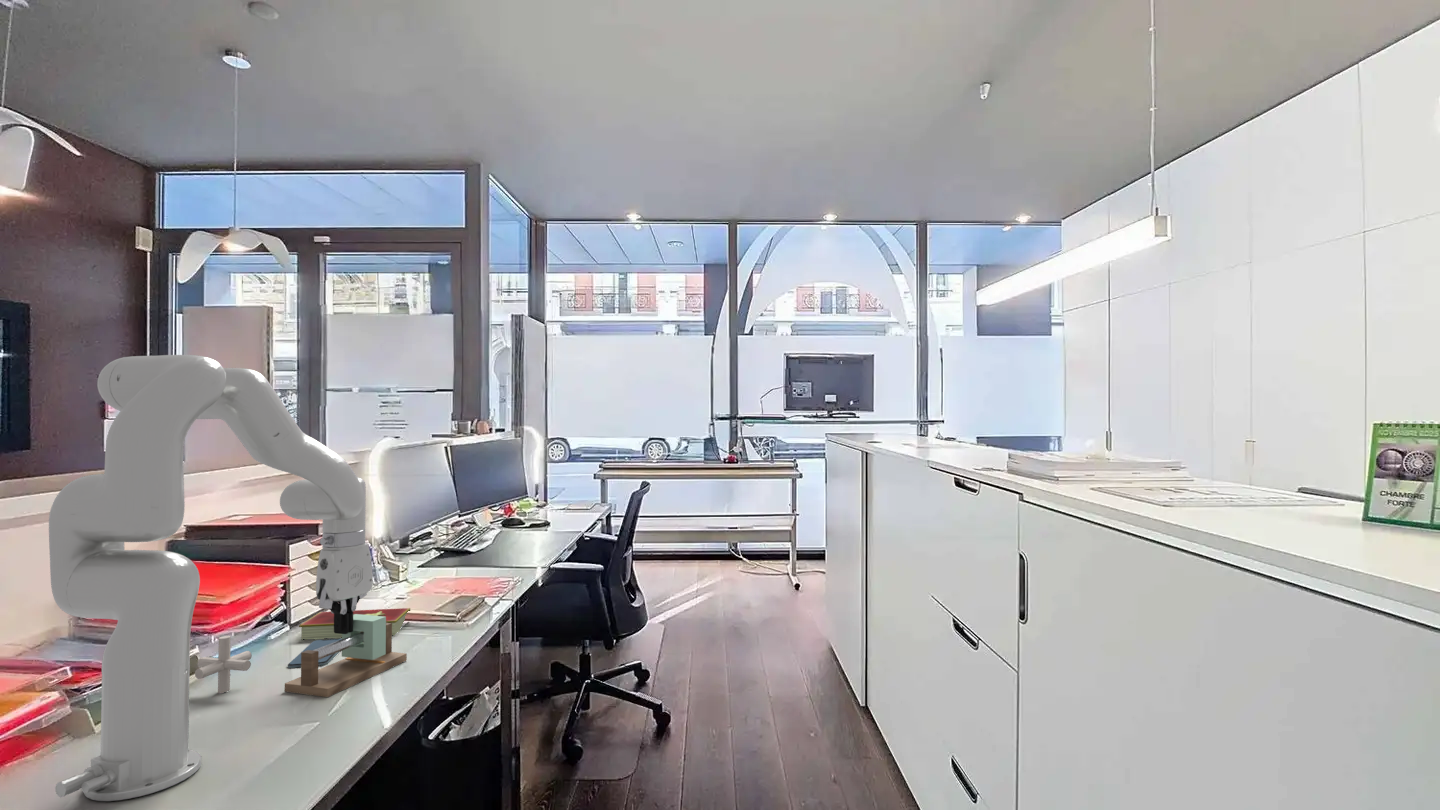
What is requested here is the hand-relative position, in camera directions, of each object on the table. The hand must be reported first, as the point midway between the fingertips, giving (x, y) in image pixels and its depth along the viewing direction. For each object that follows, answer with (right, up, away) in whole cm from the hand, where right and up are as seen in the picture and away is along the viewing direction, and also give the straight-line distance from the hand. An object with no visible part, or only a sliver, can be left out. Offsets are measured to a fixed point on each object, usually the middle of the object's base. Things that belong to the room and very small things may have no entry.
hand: (343, 632), depth 137 cm
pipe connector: (-18, -8, -9) cm, 21 cm away
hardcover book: (-13, -10, +29) cm, 33 cm away
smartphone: (-11, -9, +11) cm, 19 cm away
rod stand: (+1, -8, -1) cm, 8 cm away
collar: (+2, -6, +3) cm, 7 cm away
